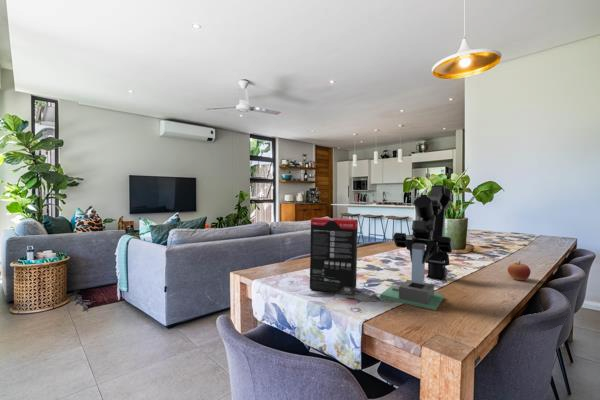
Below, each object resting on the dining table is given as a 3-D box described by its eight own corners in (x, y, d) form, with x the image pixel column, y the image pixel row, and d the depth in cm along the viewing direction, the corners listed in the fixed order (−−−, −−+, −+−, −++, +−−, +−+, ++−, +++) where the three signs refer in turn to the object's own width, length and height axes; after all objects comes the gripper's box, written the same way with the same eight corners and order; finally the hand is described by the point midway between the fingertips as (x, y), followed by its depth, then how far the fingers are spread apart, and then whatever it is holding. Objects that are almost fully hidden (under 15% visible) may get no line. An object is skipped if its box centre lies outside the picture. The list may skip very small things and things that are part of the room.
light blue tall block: (411, 281, 98) (412, 244, 97) (414, 278, 101) (415, 242, 101) (421, 283, 96) (422, 245, 95) (424, 280, 99) (425, 243, 99)
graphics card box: (357, 290, 109) (358, 218, 108) (354, 296, 102) (355, 219, 102) (314, 285, 115) (314, 216, 114) (308, 290, 108) (309, 218, 107)
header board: (380, 297, 101) (380, 283, 101) (392, 288, 112) (392, 274, 111) (435, 310, 91) (436, 293, 90) (443, 298, 101) (443, 283, 101)
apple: (520, 276, 128) (520, 258, 128) (535, 282, 120) (535, 263, 120) (502, 276, 128) (503, 258, 128) (516, 282, 120) (517, 263, 120)
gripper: (395, 210, 106) (384, 244, 98) (451, 213, 96) (445, 251, 87) (400, 229, 113) (391, 263, 104) (454, 233, 102) (449, 271, 94)
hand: (417, 262), depth 97 cm, fingers closed on light blue tall block, 3 cm apart
